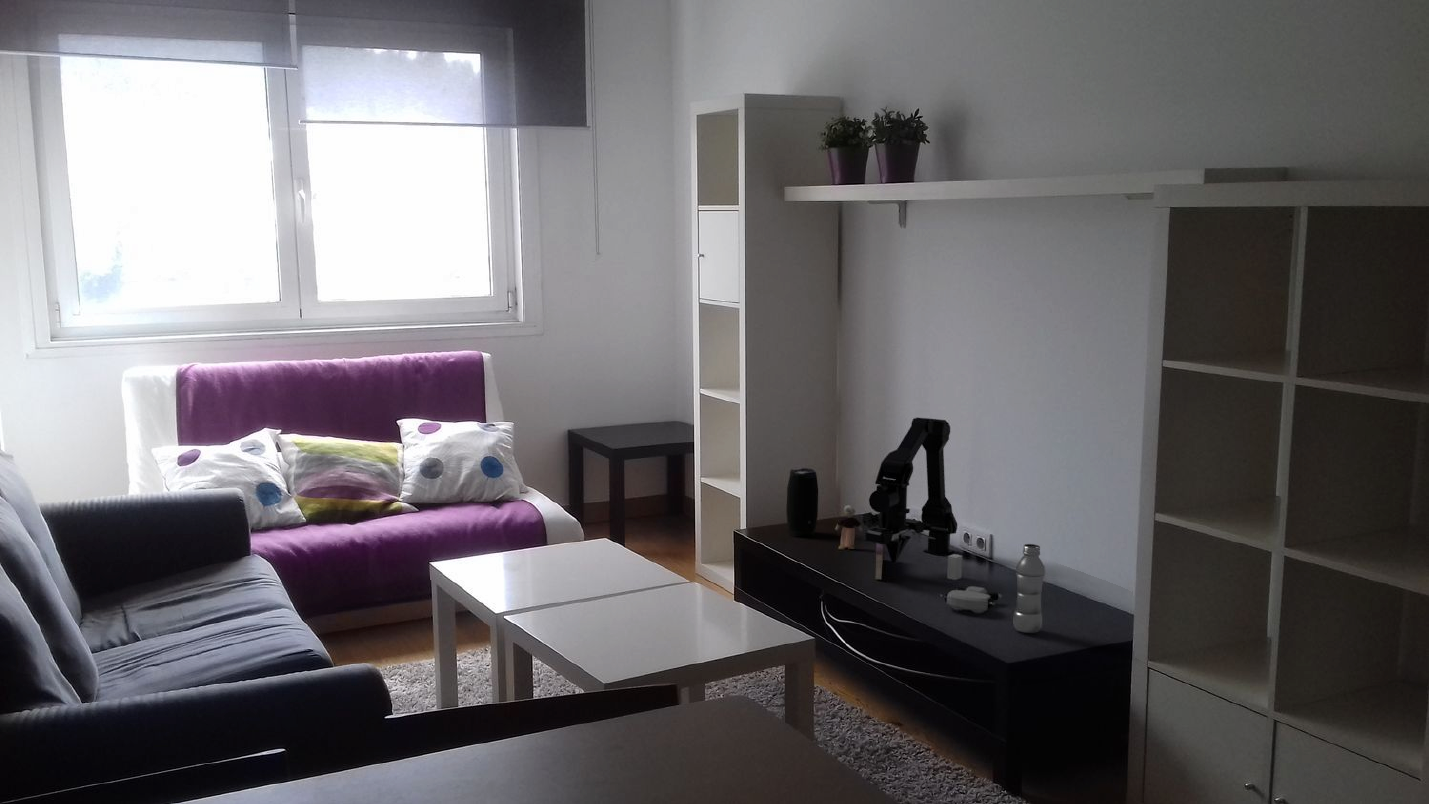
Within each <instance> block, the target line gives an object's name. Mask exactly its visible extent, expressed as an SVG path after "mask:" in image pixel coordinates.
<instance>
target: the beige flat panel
mask: <svg viewBox="0 0 1429 804" xmlns="http://www.w3.org/2000/svg"><path fill="white" fill-rule="evenodd" d="M875 544H876V547H875V559H876V560H875V580H882V574H883V561H884V559H885V544H879V543H875Z"/></svg>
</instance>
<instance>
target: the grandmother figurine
mask: <svg viewBox="0 0 1429 804" xmlns="http://www.w3.org/2000/svg"><path fill="white" fill-rule="evenodd" d="M843 512H844V515H845V516H843V517H842V518H840V519H839V521H837V524H836V525H835V526H836V527H835V530H836V531H838V530H840V527H841V526H842V528H841V534H840V535H841V536H840V545H839V546H838V549H839V550H845V549H846V548H848V549H847V550H849V549H854V550H855V547H854V545H855V537H856V535H855V533H856V532H855V530H856V529H855V527H857V528H858V530H859V531H860V532H862V531H863V527H862V523H861V521H859V520H858V519H857V518H855V517H854V515H855V514H856V510H855V508H854V506H852V505H845V506H844V508H843Z"/></svg>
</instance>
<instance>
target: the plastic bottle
mask: <svg viewBox="0 0 1429 804" xmlns="http://www.w3.org/2000/svg"><path fill="white" fill-rule="evenodd" d="M1022 554H1023V556H1022V557H1021V558H1020V559H1019V561H1018V563H1017V564H1016V569H1015V572H1016V581H1017V582H1016V583H1017V584H1016V585H1017V586H1016V587H1017V589H1016V590H1017V592H1016V593H1017V597H1016V602H1015V603H1016V604H1015V609H1014V613H1013V619H1012V621H1013V627H1014V628H1015V630H1017V631H1018V632H1020V633H1025V634H1035V633H1039V632H1040V630H1041V629H1042V626H1043V616H1042V615H1043V614H1042V591H1043V583H1044V579H1045V574H1046V568H1045V565H1044V563H1043V561H1042V560H1041V558H1040V557H1039V556H1040V555H1041V546H1040V545H1038V544H1033V543H1025V544H1023V549H1022Z"/></svg>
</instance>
